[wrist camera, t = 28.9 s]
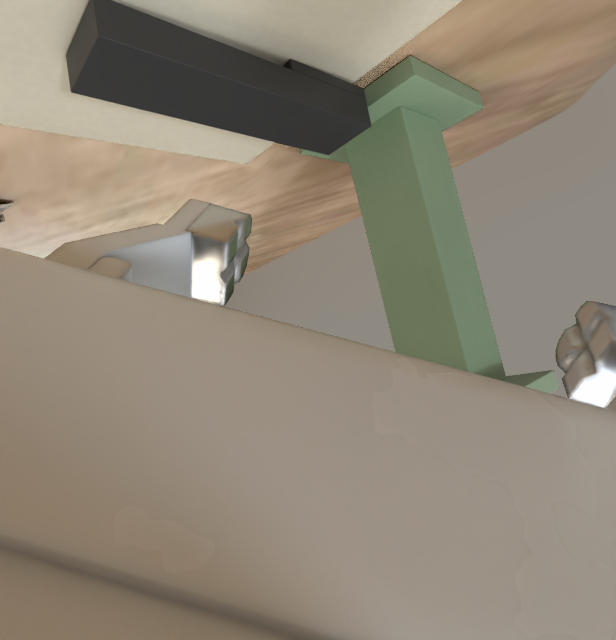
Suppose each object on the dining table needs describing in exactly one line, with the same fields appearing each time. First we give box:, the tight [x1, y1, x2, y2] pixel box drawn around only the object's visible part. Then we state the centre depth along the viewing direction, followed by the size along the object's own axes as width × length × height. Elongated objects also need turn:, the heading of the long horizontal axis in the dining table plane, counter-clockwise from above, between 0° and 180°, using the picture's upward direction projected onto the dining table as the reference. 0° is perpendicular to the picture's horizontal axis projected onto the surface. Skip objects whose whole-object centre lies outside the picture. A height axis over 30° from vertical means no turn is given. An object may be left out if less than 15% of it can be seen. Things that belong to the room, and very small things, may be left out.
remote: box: [66, 0, 371, 155], centre depth 29 cm, size 19×5×3 cm, turn 48°
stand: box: [299, 55, 559, 393], centre depth 40 cm, size 11×12×26 cm
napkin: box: [0, 0, 462, 164], centre depth 28 cm, size 22×22×1 cm
